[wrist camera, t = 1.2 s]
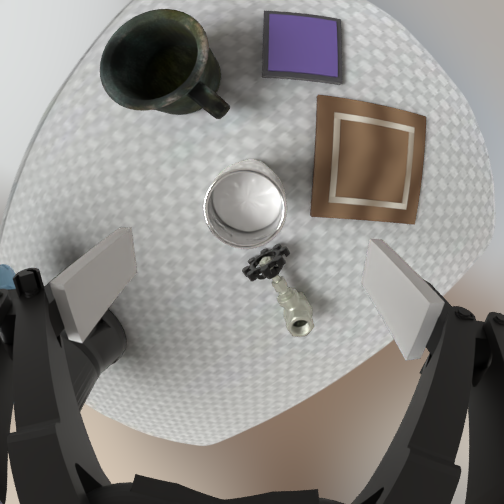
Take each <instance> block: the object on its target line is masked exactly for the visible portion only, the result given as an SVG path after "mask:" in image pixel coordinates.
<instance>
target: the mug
mask: <svg viewBox="0 0 504 504" xmlns="http://www.w3.org/2000/svg"><path fill="white" fill-rule="evenodd" d="M100 77H101V82H102V85H103V87H104V89H105V91H106V92H107V94H108V95H109V96H110V97H111V98H112V99H113V100H114V101H115V102H116V103H118V104H119V105H121V106H123V107H126V108H129V109H133V110H143V111H144V110H157V111H161V112H165V113H169V114H176V115H182V114H188V113H192V112H195V111H197V110H199V109H201V108H203V109H204V110H206V111H207V112H208V113H209V114H211V115H212V116H213V117H215V118H216V119H221V118H222V117H223V116H224V115H226V113H227V112H228V111H229V109H230V105H229V104H228V103H226V102H225V101H224V100H223V99H222V98H221V97H220V96H218V95H217V94H216V92H217V90H218V88H219V85H220V80H221V72H220V67H219V64H218V62H217V60H216V59H215V57H214V55H213V53H212V52H211V50H210V48H209V44H208V38H207V36H206V33H205V31H204V29H203V27H202V26H201V25H200V24H199V22H198V21H197V20H195V19H194V18H193V17H191V16H190V15H188V14H186V13H184V12H180V11H177V10H171V9H158V10H152V11H148V12H145V13H142V14H140V15H138V16H136V17H134V18H132V19H130V20H129V21H127V22H126V23H125V24H123V25H122V26H121V27H120V28H119V29H118V30H117V31H116V32H115V33H114V34H113V36H112V37H111V38H110V40H109V41H108V43H107V45H106V47H105V49H104V51H103V54H102V58H101V62H100Z"/></svg>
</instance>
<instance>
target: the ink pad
mask: <svg viewBox="0 0 504 504" xmlns="http://www.w3.org/2000/svg"><path fill="white" fill-rule="evenodd" d="M262 78H280V79H294V80H305V81H314V82H322V83H330V84H336V85H340V84H342V40H341V19H336V18H330V17H324V16H317V15H310V14H301V13H291V12H277V11H264V31H263V68H262Z"/></svg>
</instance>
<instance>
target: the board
mask: <svg viewBox="0 0 504 504" xmlns="http://www.w3.org/2000/svg"><path fill="white" fill-rule="evenodd" d="M425 134H426V117H425V116H422V115H418V114H415V113H411V112H407V111H404V110H400V109H396V108H391V107H387V106H382V105H378V104H373V103H368V102H363V101H357V100H351V99H345V98H339V97H332V96H324V95H318V96H317V111H316V136H315V155H314V172H313V186H312V199H311V211H310V215H311V217H326V218H341V219H356V220H369V221H381V222H393V223H404V224H415V220H416V214H417V208H418V202H419V195H420V188H421V180H422V172H423V162H424V150H425Z"/></svg>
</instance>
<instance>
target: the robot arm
mask: <svg viewBox="0 0 504 504" xmlns="http://www.w3.org/2000/svg"><path fill="white" fill-rule="evenodd" d="M136 273H137V267H136V260H135V252H134V244H133V235H132V228H119V229H117V230H116V231H115V232H113V233H112V234H111V235H109V236H108V237H106V238H105V239H104V240H102V241H101V242H100V243H98V244H97V245H96V246H94V247H93V248H92V249H91V250H89V251H88V252H87V253H85V254H84V255H83V256H82V257H80V258H79V259H78V260H76V261H75V262H74V263H73V264H72V265H70V266H69V267H67V268H66V269H65V270H63V271H62V273H60V274H59V275H57V277H55V278H54V279H53V280H52V281H50V282H49V283H48V284H47V285H46V286H45V287H44V285H43V282H42V278H41V275H40V271H39V269H37V268H28V269H25V270H22V271H20V272H18V273H17V274H15V272H14V270H13V269H12V268H11V267H10V266H9V265H6V264H1V265H0V504H5V501H6V492H7V461H8V453H9V459H10V465H11V469H12V474H13V479H14V483H15V487H16V491H17V495H18V499H19V502H20V504H344V503H341V502H337V501H334V500H329V499H325V498H319V495H318V489H315V490H303V491H281V492H269V493H264V494H259V495H254V496H248V497H242V498H235V499H228V500H223V499H219V498H215V497H212V496H209V495H206V494H203V493H201V492H198V491H195V490H192V489H190V488H187V487H185V486H182V485H180V484H177V483H172V482H167V481H162V480H157V479H153V478H149V477H144V476H140V475H137V474H135V478H134V481H133V483H131V482H129V483H116V484H111V482H110V481H109V479H108V478H107V477H106V475H105V474H104V472H103V470H102V469H101V467H100V464H99V462H98V460H97V458H96V455H95V453H94V450H93V447H92V445H91V442H90V440H89V437H88V434H87V432H86V429H85V426H84V423H83V420H82V417H81V414H80V411H81V409H82V407H83V405H84V403H85V401H86V399H87V397H88V396H89V394H90V392H91V390H92V388H93V386H94V384H95V382H96V381H97V379H98V377H99V375H100V374H101V373H102V372H103V371H104V370H106V369H107V368H108V367H109V366H110V365H111V364H113V363H115V362H116V361H118V360H119V358H120V357H121V355H122V354H123V352H124V350H125V347H126V336H125V333H124V330H123V328H122V326H121V324H120V323H119V321H118V320H117V318H116V317H115V316H114V315H113V314H112V313H111V312H110V311H109V310H108V308H109V307H110V306H111V304H112V303H113V302H114V300H115V299H116V298H117V297H118V295H119V294H120V293H121V292H122V290H123V289H124V288H125V287H126V285H127V284H128V283H129V282H130V280H131V279H132V278H133V277H134V276H135V274H136ZM361 284H362V286H363V288H364V289H365V291H366V293H367V294H368V296H369V297H370V299H371V301H372V302H373V304H374V306H375V307H376V309H377V311H378V312H379V314H380V316H381V317H382V319H383V321H384V323H385V324H386V326H387V328H388V329H389V331H390V333H391V335H392V336H393V338H394V340H395V342H396V344H397V345H398V347H399V349H400V351H401V353H402V354H403V356H404V358H405V360H414V359H420V358H421V356H422V354H423V352H424V350H425V348H427V349H428V351H429V352H430V354H429V356H428V358H427V360H426V362H425V364H424V365H423V367H422V369H421V371H420V373H421V377H420V379H419V383H418V385H417V387H416V390H415V393H414V395H413V397H412V400H411V402H410V405H409V407H408V409H407V411H406V414H405V416H404V418H403V420H402V422H401V424H400V427H399V429H398V431H397V433H396V435H395V437H394V439H393V441H392V442H391V444H390V446H389V448H388V450H387V452H386V454H385V455H384V457H383V459H382V461H381V462H380V464H379V466H378V468H377V469H376V471H375V473H374V474H373V476H372V477H371V479H370V481H369V482H368V484H367V485H366V487H365V488H364V489H363V491H362V492H361V493H360V494H359V496H357V497H356V499H355V500H354V501H353V502H352V503H351V504H451V501H452V499H453V496H454V493H455V491H456V488H457V485H458V482H459V479H460V474H461V467H460V466H458V465H455V464H454V462H455V458H456V454H457V451H458V447H459V444H460V440H461V436H462V432H463V428H464V423H465V419H466V414H467V409H468V414H469V445H470V446H469V472H468V484H467V493H466V501H465V504H504V315H502V314H501V313H496V312H490V313H489V314H488V316H487V318H486V320H485V322H482V321H476V319H475V316H474V315H473V314H472V313H471V312H470V311H469V310H467V309H465V308H463V307H459V306H453V307H452V306H451V305H450V304H449V303H448V302H447V301H446V300H445V299H444V297H443V296H442V295H440V293H439V292H438V291H437V290H436V289H435V288H434V287H433V286H432V285H431V284H430V283H429V282H427V281H425V280H424V279H422V278H421V277H420V276H419V275H418V274H417V273H416V272H415V271H414V270H413V269H412V268H411V267H410V266H409V265H408V264H407V263H406V262H405V261H404V260H403V259H402V258H401V257H400V256H399V255H398V254H397V253H396V252H395V251H394V250H393V249H392V248H391V247H389V246H388V245H387V244H386V243H385V242H384V241H383V240H382V239H370V240H369V245H368V250H367V256H366V260H365V265H364V270H363V275H362V279H361ZM13 404H14V410H15V421H16V432H13V433H10V424H11V416H12V409H13Z"/></svg>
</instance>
